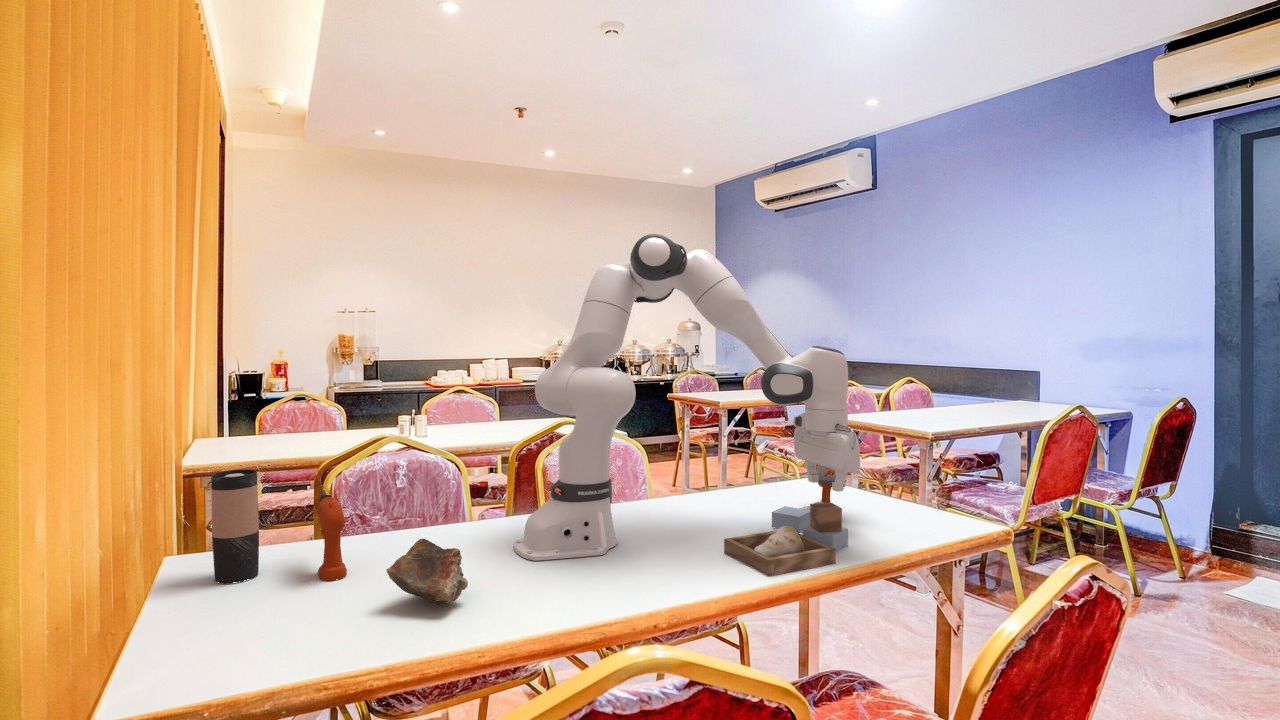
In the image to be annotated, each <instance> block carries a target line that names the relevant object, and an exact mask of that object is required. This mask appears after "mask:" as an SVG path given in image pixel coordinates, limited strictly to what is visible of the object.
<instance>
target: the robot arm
mask: <svg viewBox="0 0 1280 720" xmlns="http://www.w3.org/2000/svg"><path fill="white" fill-rule="evenodd" d="M629 258H630V259H629V261H630V263H627V264H623V265H620V264H617V263H607V264H603V265H601V266H600V267H599V268H598V269H596V271H595V273H594V276H593V277H592V279H591V281H590V283H589V285H588V288H587V291H586V293H585V296H584V299H583V302H582V305H581V309H580V313H579V315H578V319H577V322H576V324H575V327H574V331H573V333H572V336H571V337H570V340H569V342H568V344H567V345H566V347H565V348H564V350H563V351H562V353H561V354H560V356H559V357H558V358H557V359H556V360H555V362H554V363H553V364H552V365H550V366H549V367H548V368H547V369H545V370H543V371H542V372H541V373H540V374H539V376H538V377H537V379H536V382H535V386H534V396H535V400H536V401H537V404H538V405H539V406H540V407H542V408H543V409H544V410H547V411H548V412H552V413H554V414H556V415H561V416H572V417H575V421H574V426H573V430H572V431H571V434H570V435H568V436H567V437H565V438H564V439H562V441H561V442H560V444H559V448H558V461H559V462H558V465H559V466H558V470H559V471H558V475H559V476H558V478H559V479H558V480H557V481H555V482H552V481H550V480H547V481H545V482H544V483H543V489H544V490H546V491H548V492H550V498H549V499H548V500H547V501H546V502H545V503H543V504H542V505H541V506H540V507H539V508H537V509H536V510H535V511H534V512H533V513H532V514H530V515H529V516H528V518H527V520H526V523H525V527H524V533H523V537H519V538H517V539H515V540H514V542H513V550H514V551H515V552H516V554H518V555H519V556H520V557H522V558H524V559H526V560H530V561H534V562H535V561H549V560H559V559H560V560H561V559H572V558H583V557H594V556H602V555H605V554H606V553H607V552H608V550H609V549H612V548H613V547H615V546H616V545H618V539H617V536H616V531H615V528H614V522H613V516H612V515H613V514H612V508H611V507H612V505H611V504H612V500H613V498H612V497H613V484H612V478H611V477H610V476H611V475H610V473H611V471H610V465H611V464H610V463H611V462H610V461H611V460H610V459H611V458H610V457H611V446H612V441H613V437H614V433H615V431H616V428H617V427H618V424H619V423H620V422H621V420H622V419H623V418H624V417H625V416H626V415H628V413H629V412H630V411H631V409H632V408H633V406H634V404H635V401H636V394H637V393H636V386H635V385H636V384H635V383H634V380H633V379H632V377H631V376H630V375H629V374H628V373H626V372H624V371H620V370H618V369H614V368H611V367H602V366H603V365H604V364H605V363H606V362H607V361H608V360H609V359H610V358H612V357H613V356H615V355H616V354H617V353H618V352H620V350H621V348H622V346H623V344H624V339H625V335H626V332H627V328H628V325H629V320H630V316H631V313H632V308H633V305H634V303H637V304H638V303H639V304H640V303H648V304H656V303H660V302H661V303H662V302H663V301H665V300H667V299H668V298H669V297H670V296H671V295H672V293H673V292H674V290H678V291H680V292H681V293H683V294H684V295H685V296H686V297H688V298H689V300H690V302H691V303H692V304H693V305H694V307H695V309H696V310H697V311H698V312H699V313H700V315H701V316H702V317H703V318H704V319H705V320H706V321H707V322H708V323H709V324H710V325H712V326H713V327H714V328H715V329H717V330H718V331H721V332H723V333H726V334H728V335H731V336H733V337H734V338H735V339H737V340H739V341H740V342H742V343H743V344H744V345H745V346H746V347H748V349H749V350H750V351H751V352H752V354H753V355H754V356H755V357H756V358H757V360H758V361H759V362H760V363H761V365H762V366H763V367H764V368H765V369H764V370H765V371H763V373H762V376H761V378H760V387H761V391H762V393H763V396H764V397H765V398H766V399H767V400H768V401H770V402H771V403H773V404H776V405H779V406H790V405H797V404H799V405H800V404H802V403H803V404H804V405H805V406H804V407H805V409H804V410H805V411H804V412H803V413H801V414H799V415H796V416H794V417H793V422H792V423H793V426H794V427H796V428H795V429H794V432H793V434H794V435H793V447H794V448H793V449H794V451H793V452H794V454H795V456H796V457H795V458H797V459H799V460H802V461H804V466H805V469H806V472H807V480H808V482H810V483H817V484H818V481H819V479H818V478H819V474H817V472H816V465H817V464H818V465H821V466H825V467H828V468H831V469H834V470H835V475H836V479H835V482H832V488H831V490H833V491H835V492H843V491H844V489H843V488H845V487H844V485H845V484H844V483H845V481H846V479H847V477H848V475H847V473H851V474H852V473H857V472H859V470H860V468H861V453H860V452H861V451H860V444H859V440H858V437H857V434H856V432H855V431H854V430H853V428H852V427H851V426H849V425H848V422H849V420H848V419H849V417H848V415H849V409H848V407H849V406H848V403H847V393H848V391H849V367H848V361H847V357H846V355H845V354H844V353H843V352H842V351H841V350H839V349H837V348H836V349H835V348H832V347H826V346H821V345H812V346H810V347H808V348H807V349H806V350H804V351H803V352H801V353H799V354H798V355H794V356H793V355H791V354H790V353H789V352H788V351H787V350H786V349H785V348H784V347H783V345H782V344H781V342H780V341H779V340H778V339H777V338H776V337H775V336H774V334H773V333H772V332H771V331H770V330H769V328H767V326H766V325H765V323H764V322H763V321H762V319H761V317H760V315H759V314H758V312H757V311H756V309H755V307H754V306H753V304H752V302H751V300H750V299H749V297H748V295H747V294H746V293H745V291H744V289H743V287H742V286H741V284H740V283H739V282H738V280H737V279H736V278H735V277H734V276H733V274H732V273H731V272H730V270H728V268H727V267H726V266H725V265H724V263H722V262H721V261H720V260H719V259H717V258H716V257H715V256H714V255H713V254H712V253H711V252H710V251H708V250H706V249H703V248H702V249H701V248H699V249H693V250H691V251H688V252H687V251H686V249H685V247H684V246H683V245H681V244H679V243H676V242H674V241H673V240H671V239H670V238H669V237H667V236H665V235H662V234H658V233H650V234H645V235H643V236H642V237H641V238H639V239H638V240H637V241H636V243H635V244H634V246H633V248H632V250H631V252H630V257H629Z"/></svg>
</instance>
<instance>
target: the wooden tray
mask: <svg viewBox="0 0 1280 720" xmlns="http://www.w3.org/2000/svg"><path fill="white" fill-rule="evenodd" d="M774 531H775V530H771V531H765V532H758V533H751V534H745V535H739V536H734V537H733V536H732V537H727V538H724V539H723V542H724V543H723V549H724V550H723V553H724V554H725V555H727V556H728V557H729V556H730V557H731V558H733V559H735V560H737V561H738V562H741V563H742V564H745V565H747V566H748V567H751V568H752V569H754V570H756V571H758V572H760V573H762V574H763V575H765V576H768V577H772V576H776V575H782V574H787V573H788V574H789V573H793V572H797V571H802V570H808V569H813V568H818V567H822V566H827V565H828V566H829V565H833V564H836V563H837V561H836V560H837V558H836V554H837V553H836V552H837V551H836V548H834V547H831V546H829V545H826V544H824V543H821V542H819V541H816V540H814V539H811V538H809V537H806V536H804V535H803V534H802V533H801V534H800V533H797V534H798V535H799V537H800V538H801V540H802V543H803V546H804V552H799V553H793V554H788V555H782V556H777V557H771V558H770V557H768V556H765V555H763V554H761V553H759V552H757V551H755V550H754V549H755V547H757V546H759V545H761V544H763V543H764V542H765V541H766V540H767V539H768V538H769V537H770V536H771V534H772V533H773V532H774ZM812 567H813V568H812Z"/></svg>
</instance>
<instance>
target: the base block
mask: <svg viewBox="0 0 1280 720" xmlns="http://www.w3.org/2000/svg"><path fill="white" fill-rule="evenodd" d="M802 535H804V536H806V537H809V538H811V539H814V540H816V541H819V542H821V543H824V544H826V545H829V546H831V547H834V548H836V552H838V551H840V550H842V549H844V548H847V547H848V546H849V528H847V527H843V526H842V532H824V533H819V532H818V531H816V530H815V529H813V528H812V527H811V526H810V527H807V528H805V529H803V531H802Z"/></svg>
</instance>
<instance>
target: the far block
mask: <svg viewBox="0 0 1280 720" xmlns="http://www.w3.org/2000/svg"><path fill="white" fill-rule="evenodd" d="M799 508H800V507H793V506H792V507H791V506H787V505H786V506H782V507H779V508H778V509H776V510H773V511H771V528H772V527H775V528H774V529H776V528H780V527H783V526H790V527H792V528H793V529H794V530H795V531H796V532H800V533H801V531H802V532H803V529H805V528H807V527H810V510H805V509H799Z"/></svg>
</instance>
